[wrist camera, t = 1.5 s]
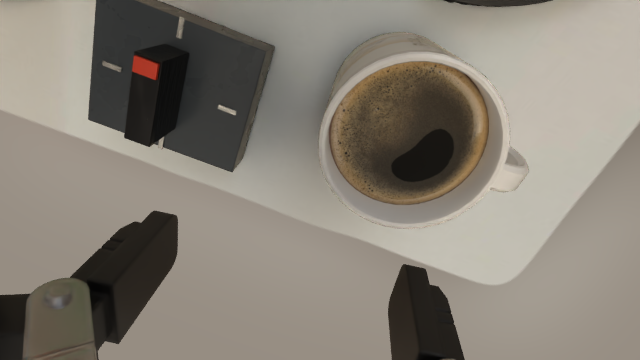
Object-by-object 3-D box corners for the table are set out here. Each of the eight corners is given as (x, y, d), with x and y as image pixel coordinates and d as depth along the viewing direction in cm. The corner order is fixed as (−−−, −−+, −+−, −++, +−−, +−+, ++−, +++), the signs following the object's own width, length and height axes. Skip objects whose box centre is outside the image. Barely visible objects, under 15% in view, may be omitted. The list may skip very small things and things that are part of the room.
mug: (434, -3, 26) (480, -2, 16) (498, 139, 30) (567, 210, 20) (308, 76, 29) (281, 118, 19) (381, 195, 33) (389, 279, 23)
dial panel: (110, 110, 32) (86, 121, 29) (122, -16, 28) (95, -17, 25) (242, 159, 33) (231, 174, 30) (275, 45, 28) (266, 50, 25)
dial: (175, 128, 29) (147, 148, 25) (153, 120, 29) (121, 139, 25) (189, 52, 26) (160, 62, 22) (165, 43, 26) (131, 51, 22)
